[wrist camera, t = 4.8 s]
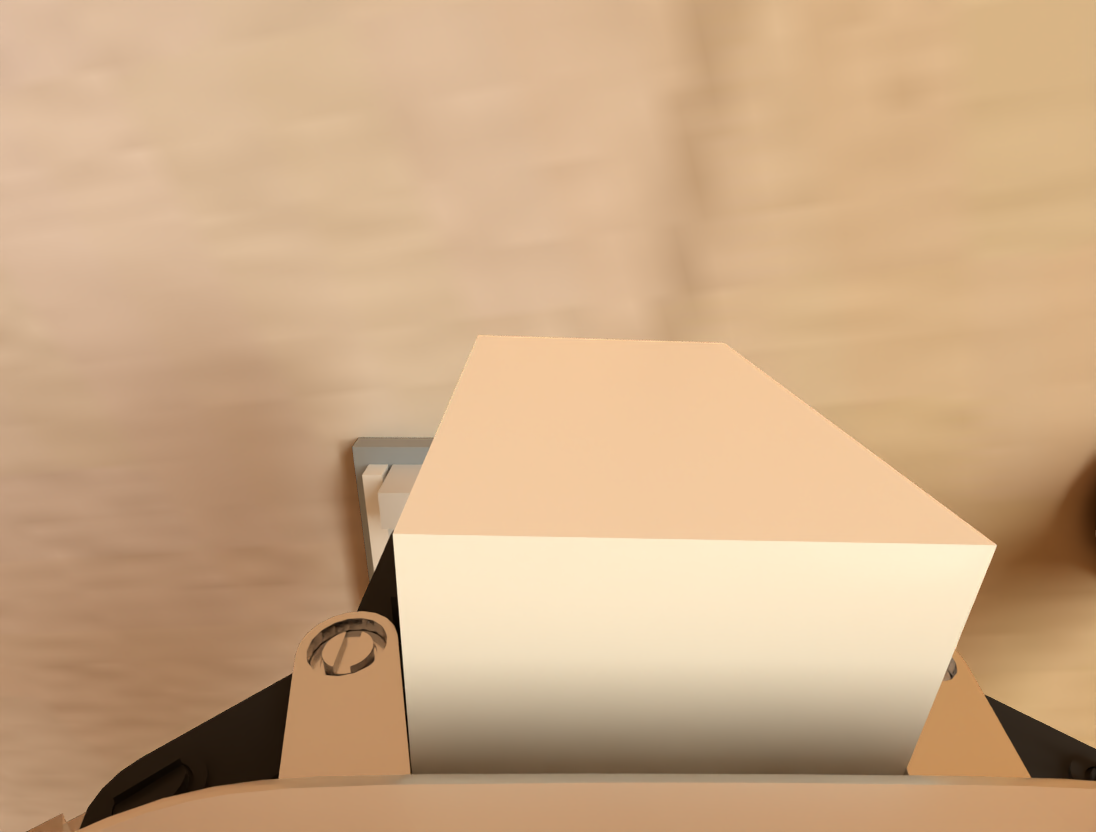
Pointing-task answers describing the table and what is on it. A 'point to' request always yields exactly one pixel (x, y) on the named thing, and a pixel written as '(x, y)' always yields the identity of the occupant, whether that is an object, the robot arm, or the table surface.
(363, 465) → the rail plate
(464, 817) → the robot arm
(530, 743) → the block
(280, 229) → the table surface
